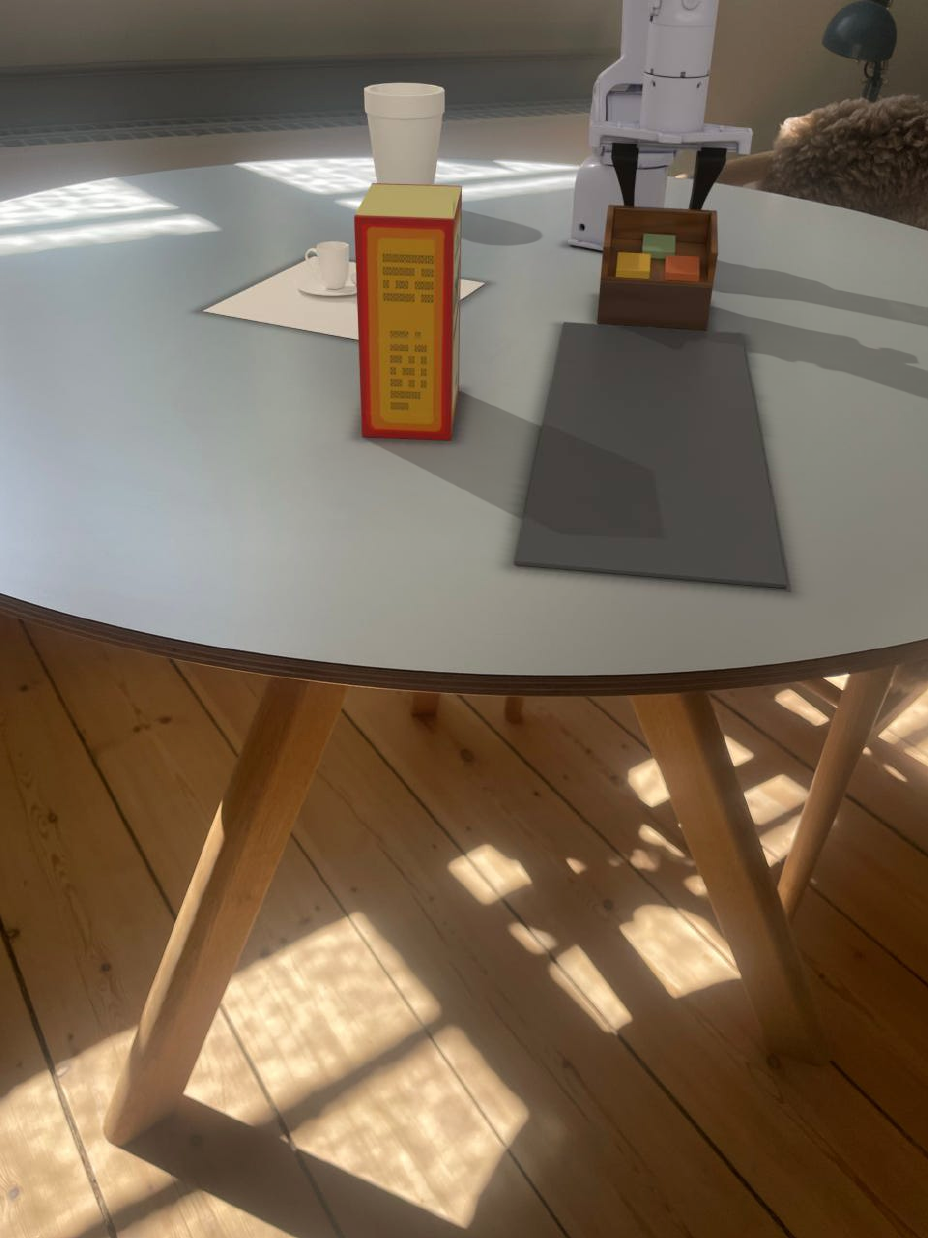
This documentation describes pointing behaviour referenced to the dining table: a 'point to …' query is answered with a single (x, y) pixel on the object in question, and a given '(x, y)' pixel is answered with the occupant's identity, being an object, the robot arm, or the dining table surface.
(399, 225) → the baking soda box
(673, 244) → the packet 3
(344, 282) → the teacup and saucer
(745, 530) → the mat
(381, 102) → the foam cup
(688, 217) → the tray
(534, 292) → the dining table surface
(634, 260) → the packet
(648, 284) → the brown wooden box panel
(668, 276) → the packet
